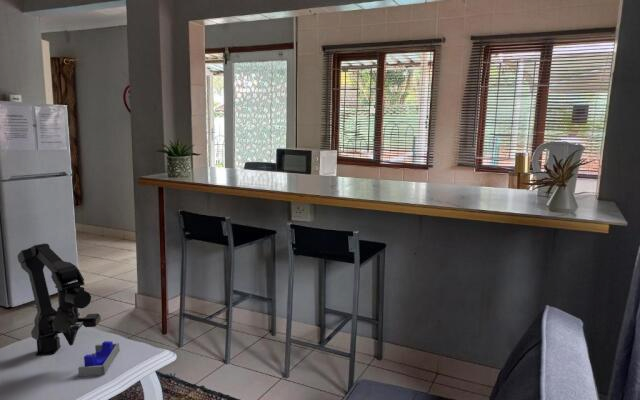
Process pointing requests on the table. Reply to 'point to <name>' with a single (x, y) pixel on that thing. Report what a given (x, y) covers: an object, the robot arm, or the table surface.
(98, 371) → the grey u-shaped bracket
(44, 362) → the table surface
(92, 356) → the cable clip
